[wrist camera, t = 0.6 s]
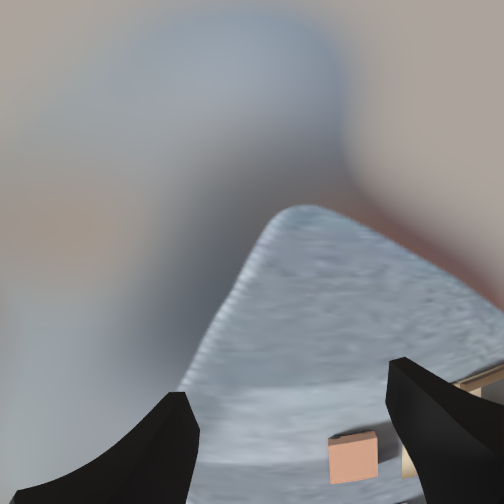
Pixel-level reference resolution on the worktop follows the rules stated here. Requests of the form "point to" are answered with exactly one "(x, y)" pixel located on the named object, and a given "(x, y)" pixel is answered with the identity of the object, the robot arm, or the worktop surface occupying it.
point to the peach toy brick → (353, 457)
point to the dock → (482, 385)
